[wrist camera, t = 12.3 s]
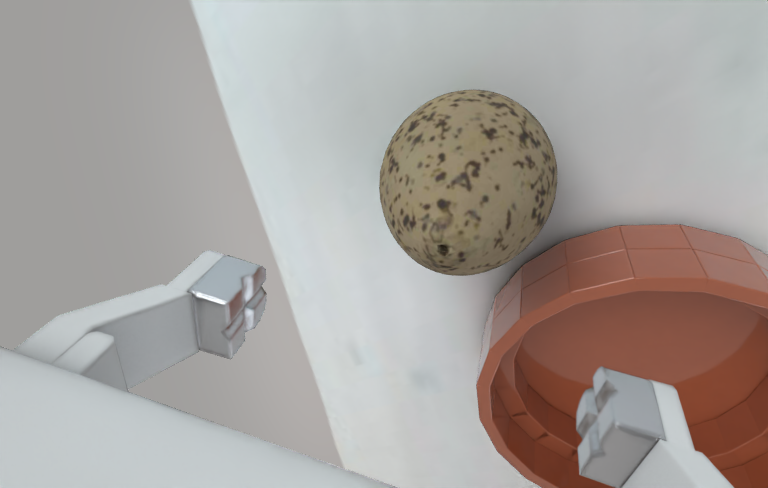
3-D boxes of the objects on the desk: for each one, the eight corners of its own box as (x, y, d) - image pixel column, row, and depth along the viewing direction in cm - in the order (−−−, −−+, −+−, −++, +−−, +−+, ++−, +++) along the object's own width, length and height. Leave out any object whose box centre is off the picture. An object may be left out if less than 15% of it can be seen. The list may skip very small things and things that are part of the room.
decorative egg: (438, 226, 26) (393, 349, 18) (384, 105, 24) (302, 185, 16) (572, 187, 23) (590, 314, 15) (526, 43, 21) (519, 103, 12)
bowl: (533, 184, 24) (532, 233, 20) (898, 272, 21) (985, 348, 17) (459, 397, 33) (447, 461, 29) (710, 476, 30) (738, 559, 26)
